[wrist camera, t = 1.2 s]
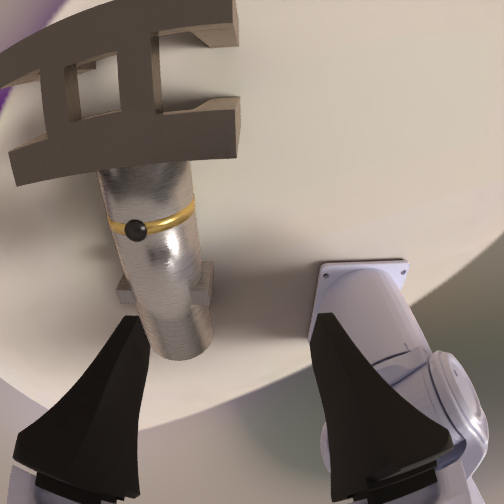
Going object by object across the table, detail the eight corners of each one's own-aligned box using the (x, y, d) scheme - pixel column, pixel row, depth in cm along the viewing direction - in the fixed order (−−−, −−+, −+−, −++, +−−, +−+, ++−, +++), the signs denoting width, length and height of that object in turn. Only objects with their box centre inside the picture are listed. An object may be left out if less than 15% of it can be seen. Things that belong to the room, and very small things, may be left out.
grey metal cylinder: (221, 311, 24) (217, 363, 20) (152, 310, 24) (138, 359, 20) (203, 129, 16) (186, 151, 11) (110, 140, 16) (67, 167, 11)
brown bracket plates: (240, 125, 16) (236, 158, 10) (84, 143, 16) (16, 186, 10) (238, 19, 12) (232, -21, 6) (74, 50, 12) (-3, 54, 6)
